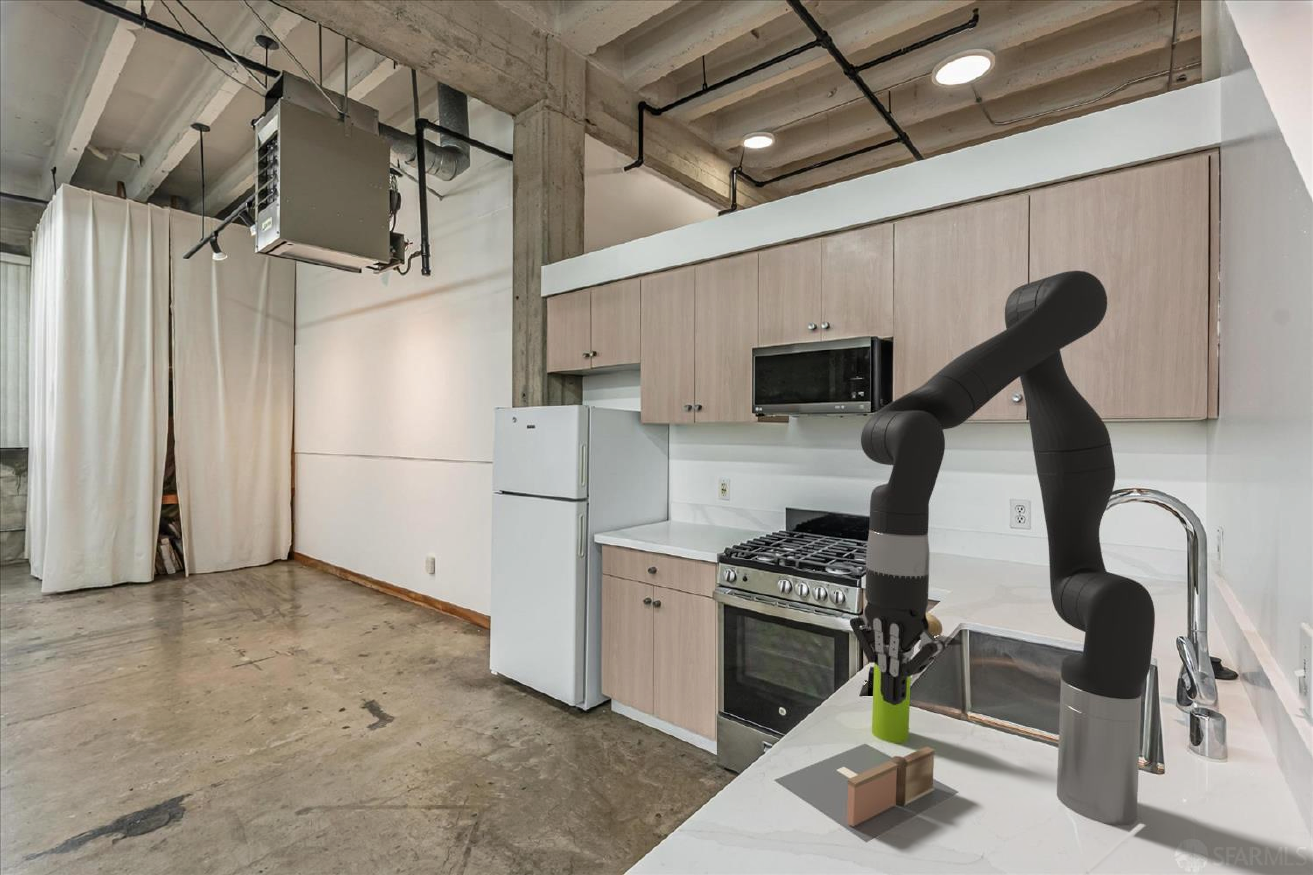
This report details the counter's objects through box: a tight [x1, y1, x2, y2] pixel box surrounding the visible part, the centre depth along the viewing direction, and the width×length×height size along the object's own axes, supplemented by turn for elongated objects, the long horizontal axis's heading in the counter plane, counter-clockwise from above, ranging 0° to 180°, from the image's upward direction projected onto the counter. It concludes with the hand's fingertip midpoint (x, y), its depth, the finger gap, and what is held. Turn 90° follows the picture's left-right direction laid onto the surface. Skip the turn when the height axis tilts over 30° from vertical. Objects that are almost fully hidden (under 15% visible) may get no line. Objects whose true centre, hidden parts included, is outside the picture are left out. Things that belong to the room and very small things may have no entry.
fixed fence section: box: [892, 746, 936, 806], centre depth 88 cm, size 8×2×6 cm, turn 124°
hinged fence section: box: [847, 761, 898, 826], centre depth 83 cm, size 9×1×6 cm, turn 124°
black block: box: [859, 666, 874, 698], centre depth 125 cm, size 12×7×5 cm, turn 155°
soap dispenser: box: [871, 663, 912, 744], centre depth 106 cm, size 6×7×20 cm
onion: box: [926, 611, 943, 636], centre depth 160 cm, size 8×8×7 cm
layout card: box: [773, 743, 959, 843], centre depth 90 cm, size 21×16×1 cm
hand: (892, 701), depth 79 cm, fingers closed
